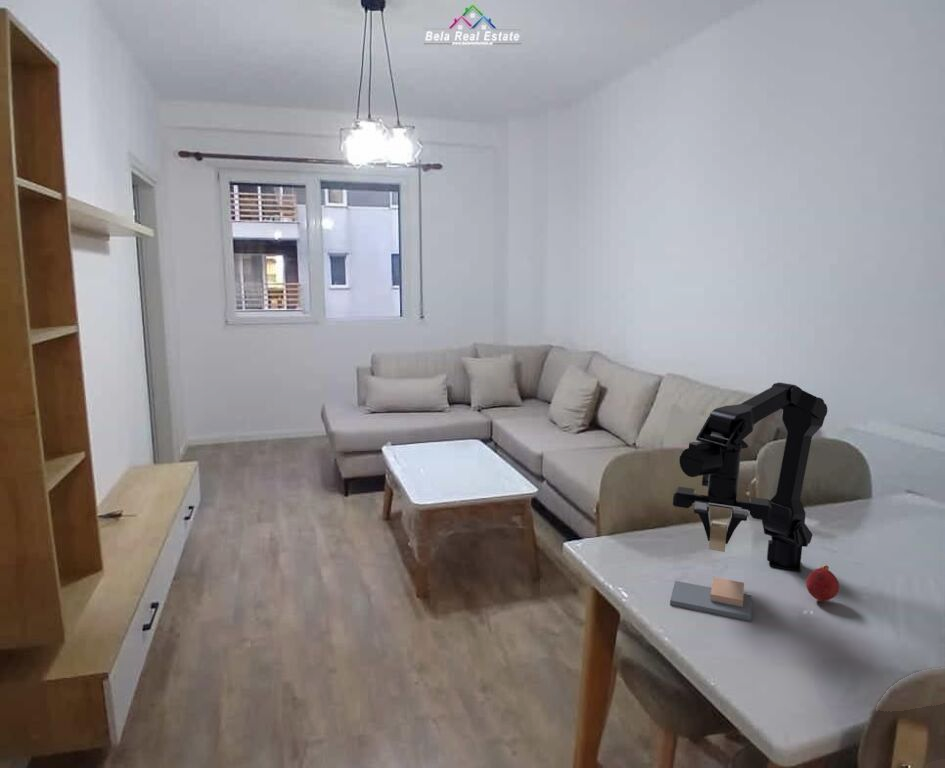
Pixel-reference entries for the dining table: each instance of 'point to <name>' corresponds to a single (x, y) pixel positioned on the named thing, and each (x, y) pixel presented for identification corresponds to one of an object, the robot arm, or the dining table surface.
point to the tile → (727, 592)
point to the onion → (822, 584)
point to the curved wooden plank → (718, 536)
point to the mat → (707, 601)
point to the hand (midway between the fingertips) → (717, 541)
